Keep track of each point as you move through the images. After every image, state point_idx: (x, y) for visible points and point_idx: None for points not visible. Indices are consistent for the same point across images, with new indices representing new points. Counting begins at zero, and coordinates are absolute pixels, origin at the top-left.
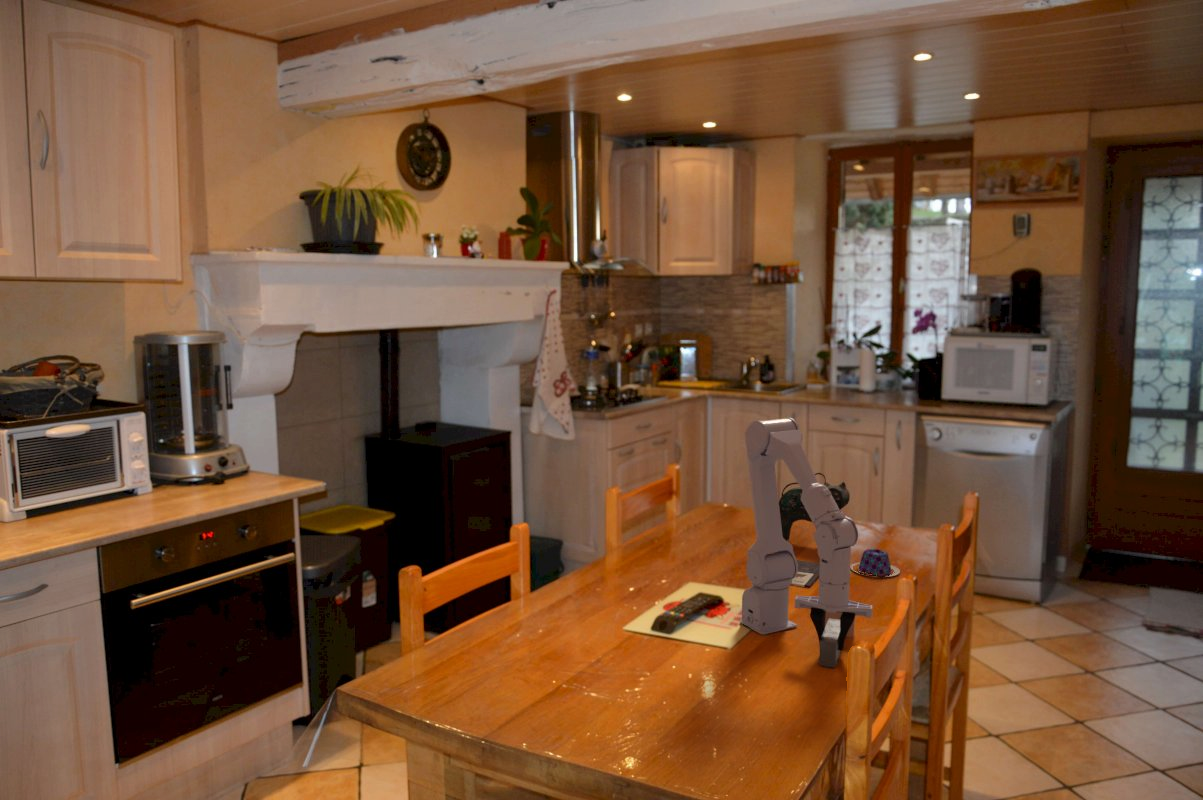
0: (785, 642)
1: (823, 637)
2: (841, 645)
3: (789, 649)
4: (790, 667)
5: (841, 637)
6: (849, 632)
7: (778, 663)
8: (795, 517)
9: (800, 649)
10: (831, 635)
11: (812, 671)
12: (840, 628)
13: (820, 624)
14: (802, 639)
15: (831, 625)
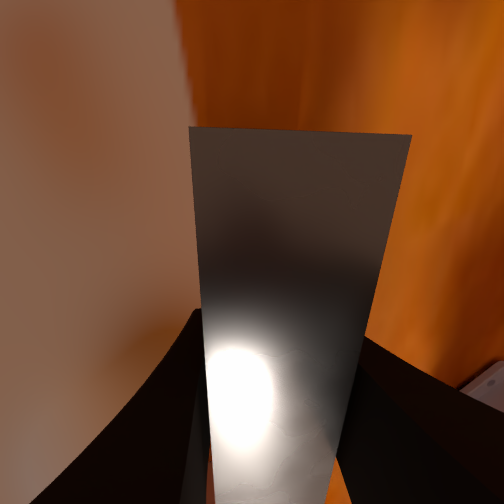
0: (427, 341)
1: (361, 248)
2: (194, 323)
3: (420, 290)
4: (445, 75)
5: (187, 364)
6: (210, 482)
7: (497, 111)
8: None
9: (377, 307)
10: (278, 330)
11: (329, 57)
12: (181, 460)
13: (461, 441)
14: None
15: (292, 488)
